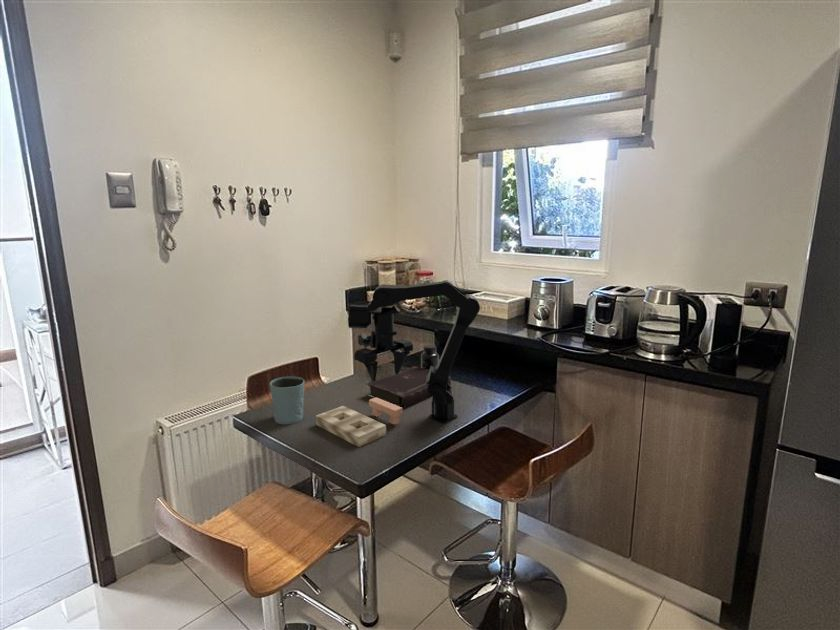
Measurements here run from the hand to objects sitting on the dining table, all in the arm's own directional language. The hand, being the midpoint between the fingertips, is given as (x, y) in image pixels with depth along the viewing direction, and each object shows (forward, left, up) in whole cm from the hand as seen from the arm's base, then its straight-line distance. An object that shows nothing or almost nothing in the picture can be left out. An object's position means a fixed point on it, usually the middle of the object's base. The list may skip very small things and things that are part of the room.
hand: (385, 377), depth 149 cm
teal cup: (+21, +21, -13) cm, 33 cm away
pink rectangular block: (-1, +1, -13) cm, 13 cm away
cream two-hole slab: (+1, +13, -13) cm, 18 cm away
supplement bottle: (+15, -36, -13) cm, 41 cm away
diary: (+10, -20, -14) cm, 27 cm away
